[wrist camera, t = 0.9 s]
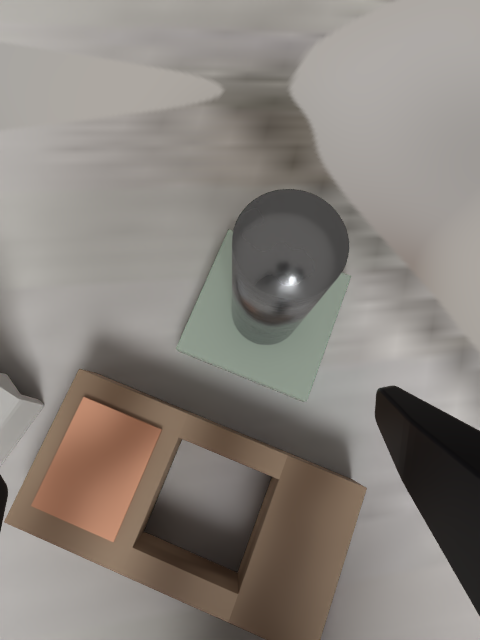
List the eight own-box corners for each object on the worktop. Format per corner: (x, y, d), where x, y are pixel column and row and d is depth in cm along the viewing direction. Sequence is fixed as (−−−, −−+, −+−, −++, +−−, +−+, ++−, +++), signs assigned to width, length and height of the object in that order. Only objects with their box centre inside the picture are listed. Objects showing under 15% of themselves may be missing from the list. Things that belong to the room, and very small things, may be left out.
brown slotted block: (351, 479, 22) (368, 489, 20) (303, 630, 21) (314, 663, 18) (95, 372, 23) (77, 368, 21) (29, 508, 22) (1, 523, 19)
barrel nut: (309, 293, 23) (364, 212, 14) (285, 355, 23) (326, 316, 13) (246, 269, 24) (257, 173, 14) (221, 329, 23) (213, 272, 13)
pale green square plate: (346, 281, 25) (351, 276, 24) (303, 401, 23) (306, 401, 22) (228, 236, 25) (228, 229, 24) (178, 351, 24) (175, 348, 23)
